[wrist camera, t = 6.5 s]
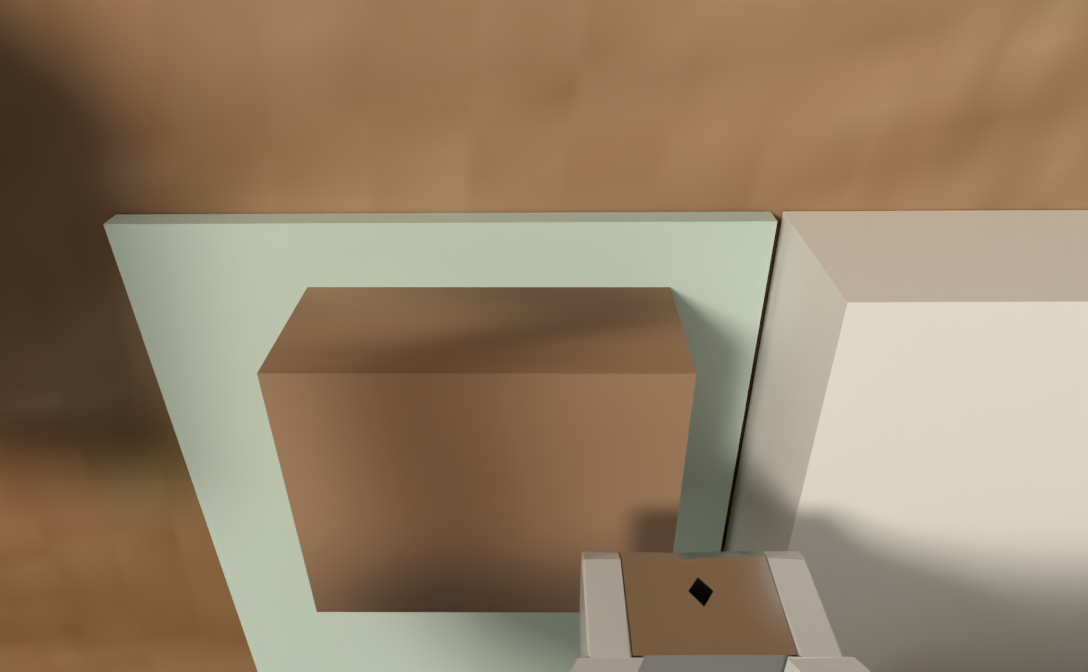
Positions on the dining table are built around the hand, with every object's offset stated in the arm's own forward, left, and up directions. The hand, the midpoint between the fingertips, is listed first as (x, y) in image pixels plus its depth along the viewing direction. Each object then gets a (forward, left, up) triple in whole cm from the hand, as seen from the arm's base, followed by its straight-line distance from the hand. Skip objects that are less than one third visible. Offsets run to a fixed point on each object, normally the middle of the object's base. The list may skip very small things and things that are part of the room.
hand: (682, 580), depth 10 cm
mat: (+4, +3, -4) cm, 6 cm away
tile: (+3, 0, -4) cm, 5 cm away
